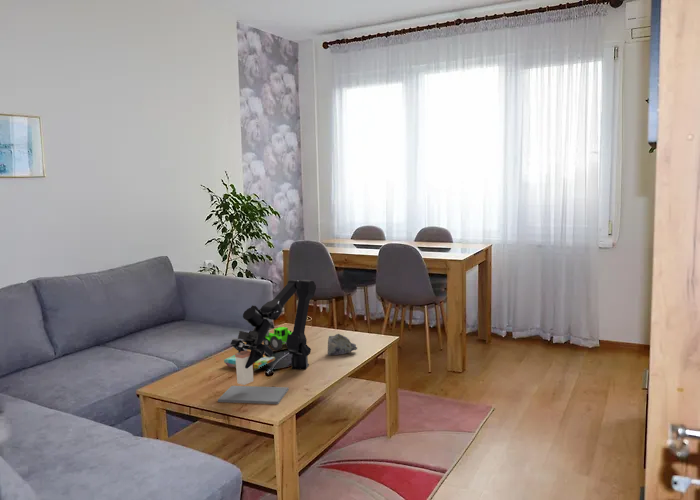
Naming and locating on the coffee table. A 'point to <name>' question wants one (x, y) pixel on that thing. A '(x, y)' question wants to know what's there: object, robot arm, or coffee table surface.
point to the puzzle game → (261, 362)
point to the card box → (243, 368)
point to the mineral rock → (340, 345)
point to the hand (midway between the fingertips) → (241, 367)
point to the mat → (254, 394)
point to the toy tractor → (277, 338)
